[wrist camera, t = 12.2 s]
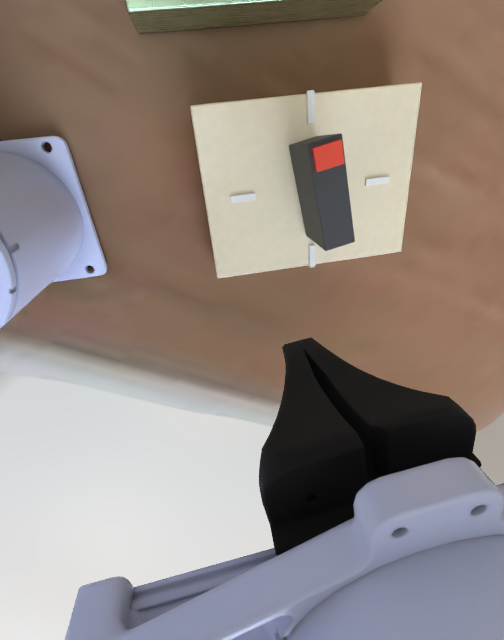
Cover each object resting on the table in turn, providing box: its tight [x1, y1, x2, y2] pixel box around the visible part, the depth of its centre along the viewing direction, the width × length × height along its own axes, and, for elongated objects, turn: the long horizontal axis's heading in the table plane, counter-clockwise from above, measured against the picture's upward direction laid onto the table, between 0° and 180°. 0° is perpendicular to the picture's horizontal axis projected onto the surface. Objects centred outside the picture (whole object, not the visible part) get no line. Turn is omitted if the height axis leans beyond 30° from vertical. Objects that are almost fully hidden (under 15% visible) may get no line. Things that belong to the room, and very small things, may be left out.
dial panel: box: [190, 82, 422, 278], centre depth 20 cm, size 12×9×3 cm
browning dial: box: [289, 133, 355, 251], centre depth 17 cm, size 5×2×4 cm, turn 16°
